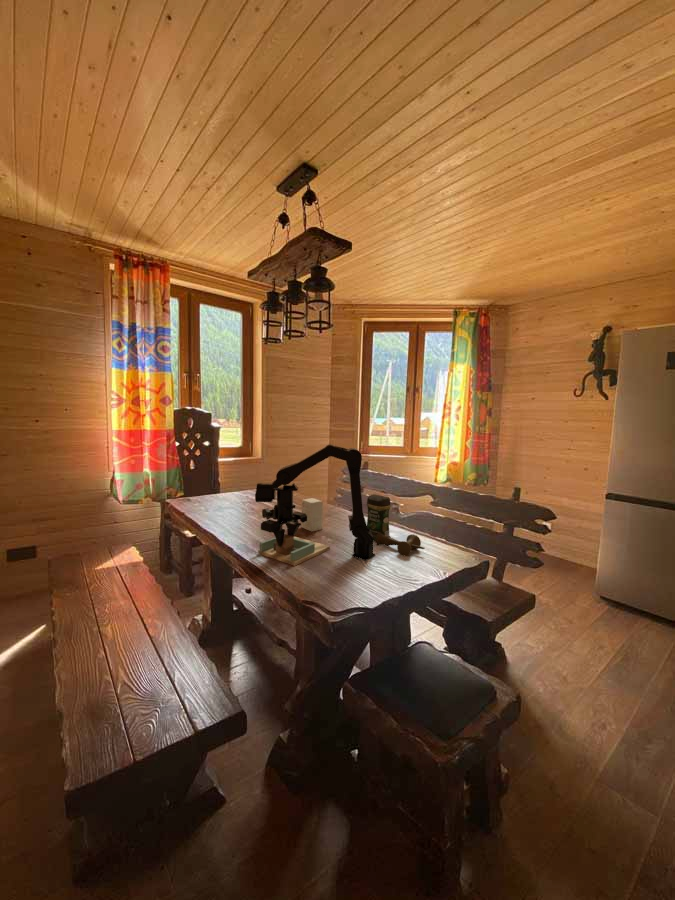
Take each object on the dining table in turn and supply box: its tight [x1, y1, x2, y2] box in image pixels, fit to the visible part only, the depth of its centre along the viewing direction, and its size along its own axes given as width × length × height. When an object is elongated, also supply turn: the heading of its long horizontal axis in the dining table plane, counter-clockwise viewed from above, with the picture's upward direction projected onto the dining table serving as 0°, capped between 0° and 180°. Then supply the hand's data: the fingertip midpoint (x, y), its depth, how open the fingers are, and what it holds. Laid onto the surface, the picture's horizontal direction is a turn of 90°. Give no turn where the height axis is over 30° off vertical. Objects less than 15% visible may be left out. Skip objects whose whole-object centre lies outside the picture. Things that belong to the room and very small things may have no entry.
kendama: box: [375, 533, 426, 557], centre depth 144 cm, size 6×10×20 cm
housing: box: [259, 536, 315, 561], centre depth 137 cm, size 16×12×3 cm
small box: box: [300, 497, 324, 533], centre depth 168 cm, size 8×6×13 cm
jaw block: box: [276, 533, 295, 556], centre depth 135 cm, size 5×4×6 cm
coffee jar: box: [366, 494, 391, 542], centre depth 155 cm, size 10×8×19 cm
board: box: [258, 536, 331, 567], centre depth 140 cm, size 18×20×4 cm
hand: (284, 544), depth 135 cm, fingers open, 5 cm apart
